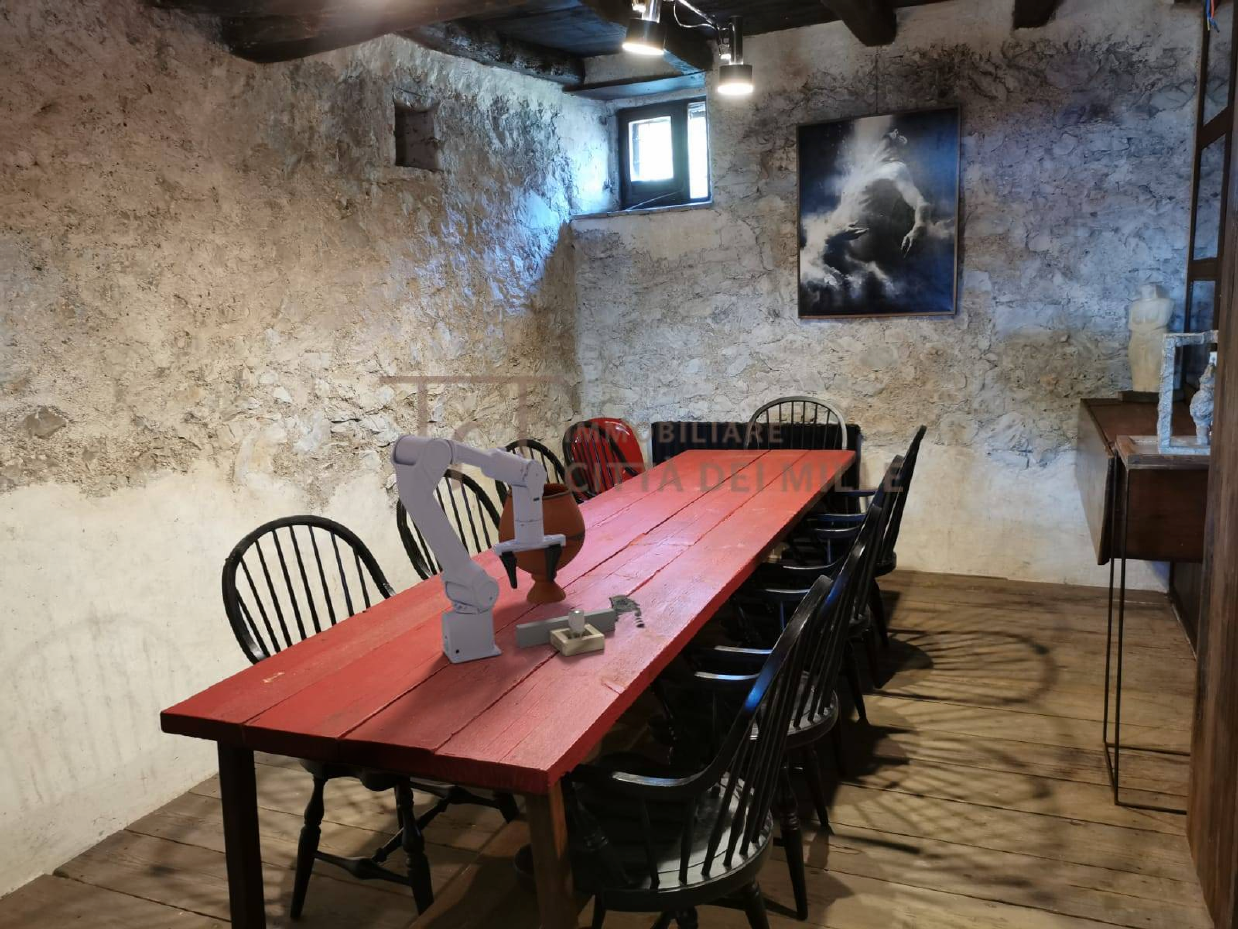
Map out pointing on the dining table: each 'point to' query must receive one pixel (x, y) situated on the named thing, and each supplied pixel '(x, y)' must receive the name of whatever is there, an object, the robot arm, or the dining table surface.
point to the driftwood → (625, 607)
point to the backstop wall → (541, 629)
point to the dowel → (576, 623)
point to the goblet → (557, 519)
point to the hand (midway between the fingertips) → (532, 584)
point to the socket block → (577, 641)
